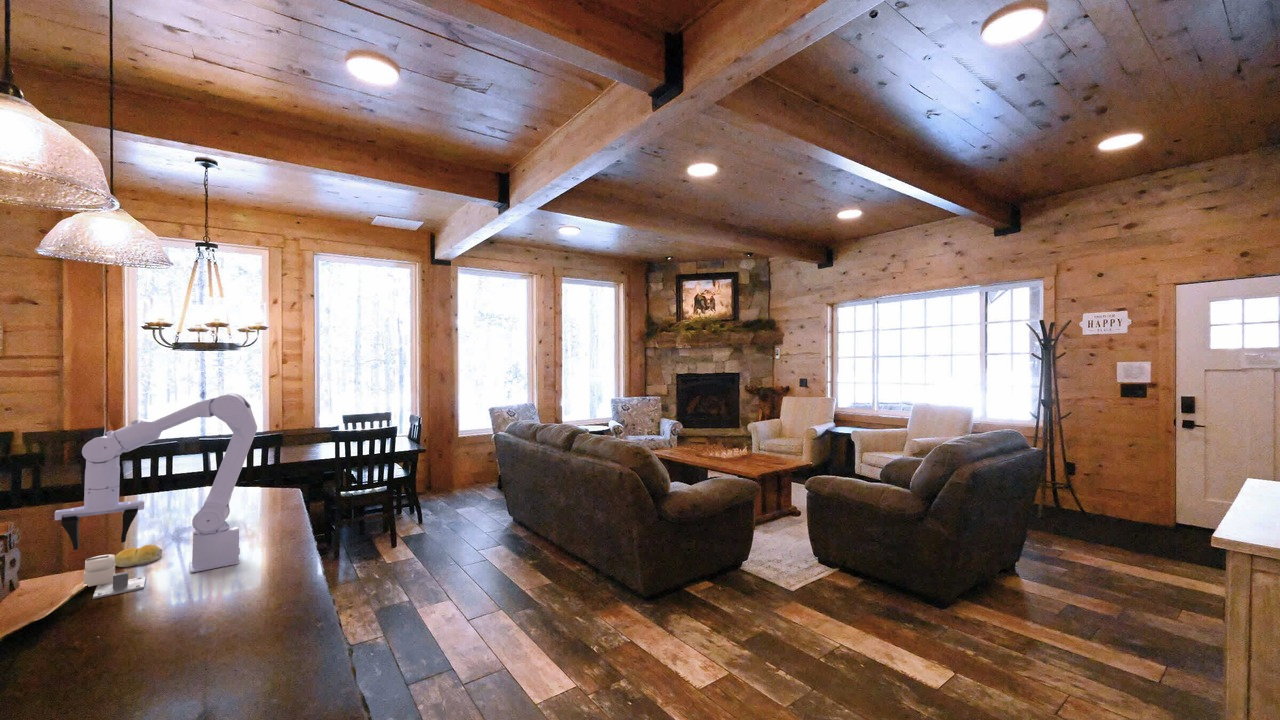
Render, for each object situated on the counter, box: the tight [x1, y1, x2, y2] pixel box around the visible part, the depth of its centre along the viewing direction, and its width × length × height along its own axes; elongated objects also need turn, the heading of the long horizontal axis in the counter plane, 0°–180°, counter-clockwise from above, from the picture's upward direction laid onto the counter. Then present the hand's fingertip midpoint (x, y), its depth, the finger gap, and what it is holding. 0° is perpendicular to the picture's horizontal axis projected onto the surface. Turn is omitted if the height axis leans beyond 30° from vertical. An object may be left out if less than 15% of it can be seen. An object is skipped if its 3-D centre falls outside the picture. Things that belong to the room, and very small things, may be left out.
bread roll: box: [115, 544, 163, 568], centre depth 134 cm, size 8×9×4 cm
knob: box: [82, 554, 116, 587], centre depth 121 cm, size 5×5×6 cm
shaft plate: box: [92, 570, 147, 600], centre depth 117 cm, size 8×8×3 cm
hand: (100, 544), depth 121 cm, fingers open, 7 cm apart
